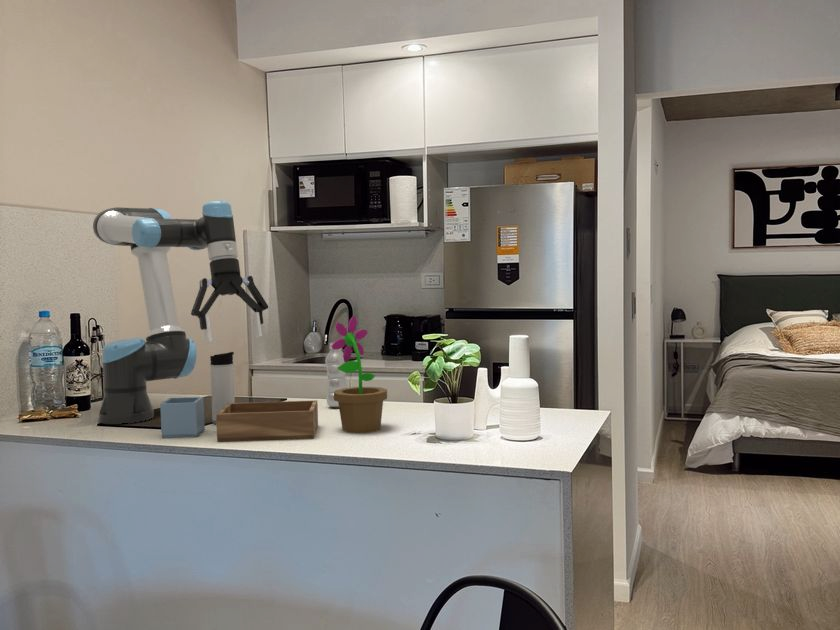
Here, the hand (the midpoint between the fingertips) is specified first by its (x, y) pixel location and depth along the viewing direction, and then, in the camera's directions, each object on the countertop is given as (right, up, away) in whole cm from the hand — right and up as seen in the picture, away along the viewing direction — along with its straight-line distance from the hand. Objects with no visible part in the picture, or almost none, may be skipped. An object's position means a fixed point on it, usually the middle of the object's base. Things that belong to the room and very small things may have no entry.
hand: (234, 339), depth 201 cm
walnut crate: (+9, -25, +1) cm, 26 cm away
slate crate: (-14, -25, +3) cm, 29 cm away
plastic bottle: (+23, -22, +37) cm, 49 cm away
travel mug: (-7, -24, +17) cm, 30 cm away
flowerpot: (+33, -24, +4) cm, 41 cm away
